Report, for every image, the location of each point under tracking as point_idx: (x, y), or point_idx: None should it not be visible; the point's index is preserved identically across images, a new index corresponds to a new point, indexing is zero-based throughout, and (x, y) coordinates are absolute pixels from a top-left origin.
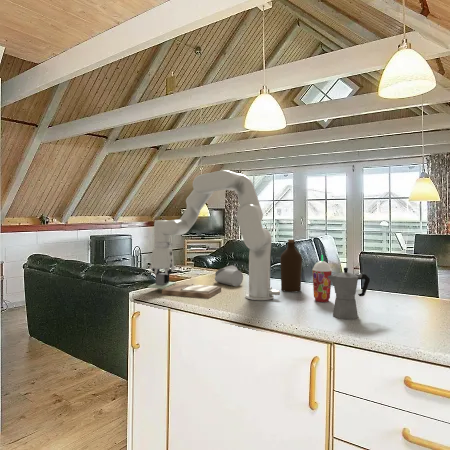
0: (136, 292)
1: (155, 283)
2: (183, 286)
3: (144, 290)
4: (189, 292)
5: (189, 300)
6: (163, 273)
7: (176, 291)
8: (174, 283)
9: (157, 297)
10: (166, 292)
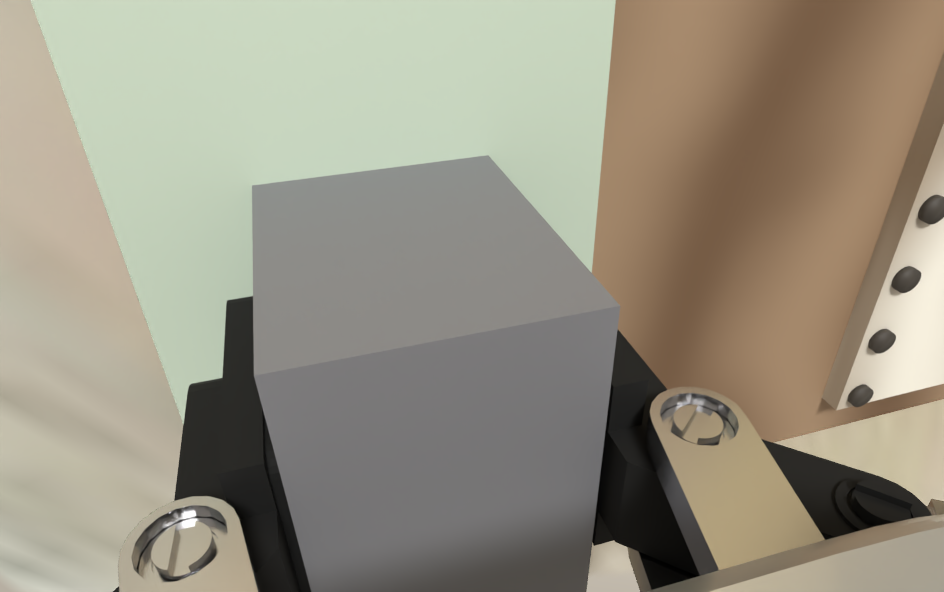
0: (47, 565)
1: (161, 336)
2: (825, 87)
3: (15, 407)
4: (936, 395)
5: (898, 477)
6: (433, 434)
7: (770, 437)
8: (606, 33)
9: None
10: None
